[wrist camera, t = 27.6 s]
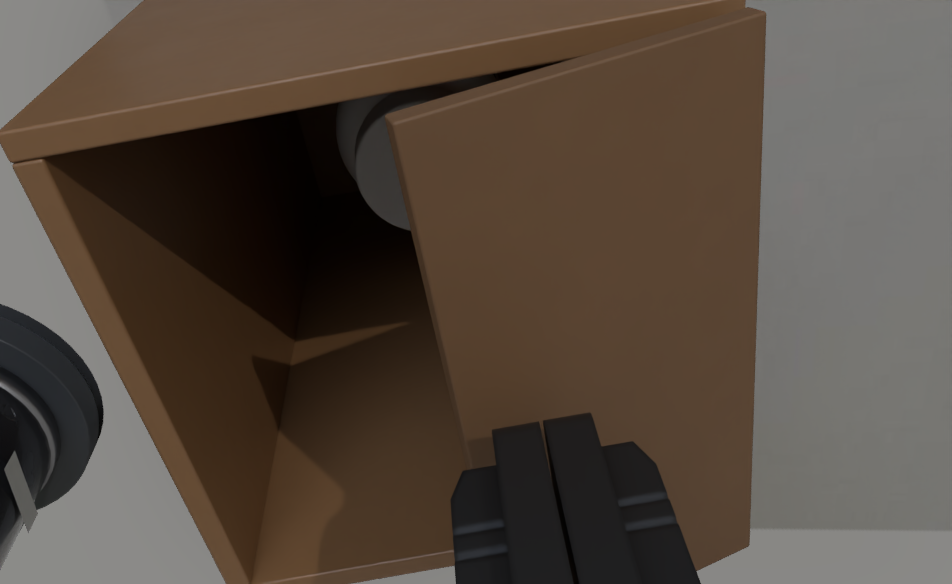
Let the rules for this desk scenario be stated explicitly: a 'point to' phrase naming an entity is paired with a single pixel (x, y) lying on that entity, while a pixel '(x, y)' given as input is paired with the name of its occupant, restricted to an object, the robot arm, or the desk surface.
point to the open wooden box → (279, 257)
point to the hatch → (604, 255)
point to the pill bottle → (384, 142)
